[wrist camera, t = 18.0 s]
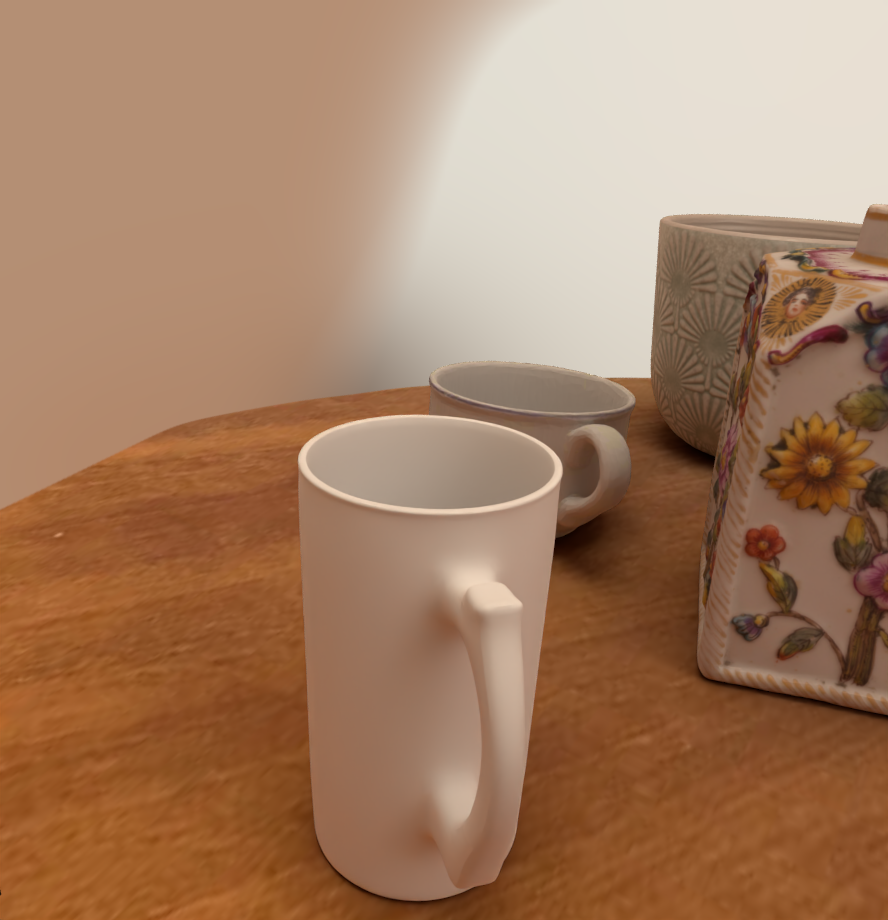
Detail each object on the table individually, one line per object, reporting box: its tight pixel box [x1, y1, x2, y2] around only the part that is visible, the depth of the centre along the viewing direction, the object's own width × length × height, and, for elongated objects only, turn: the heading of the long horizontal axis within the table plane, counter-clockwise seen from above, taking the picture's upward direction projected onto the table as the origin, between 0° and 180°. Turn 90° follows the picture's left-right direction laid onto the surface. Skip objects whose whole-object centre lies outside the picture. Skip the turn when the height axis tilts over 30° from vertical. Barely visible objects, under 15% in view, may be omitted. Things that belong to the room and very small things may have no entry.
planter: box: [651, 214, 863, 457], centre depth 56 cm, size 17×17×15 cm
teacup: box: [429, 361, 635, 538], centre depth 43 cm, size 14×11×8 cm
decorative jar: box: [697, 204, 888, 715], centre depth 33 cm, size 12×12×18 cm
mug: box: [298, 415, 563, 901], centre depth 22 cm, size 10×7×12 cm, turn 16°
